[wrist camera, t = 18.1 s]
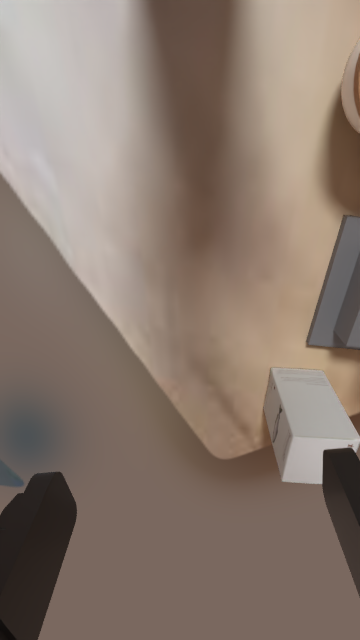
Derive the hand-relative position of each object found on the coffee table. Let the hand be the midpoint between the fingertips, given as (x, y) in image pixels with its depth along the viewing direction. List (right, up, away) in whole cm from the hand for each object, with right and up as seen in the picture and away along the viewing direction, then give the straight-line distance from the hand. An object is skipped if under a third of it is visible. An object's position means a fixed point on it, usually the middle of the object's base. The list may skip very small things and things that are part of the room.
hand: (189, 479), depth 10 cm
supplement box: (+16, -5, +38) cm, 41 cm away
